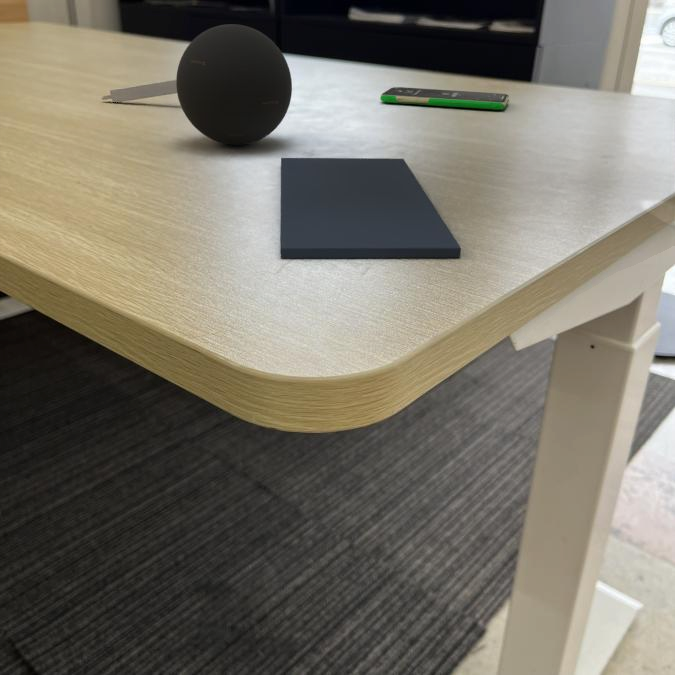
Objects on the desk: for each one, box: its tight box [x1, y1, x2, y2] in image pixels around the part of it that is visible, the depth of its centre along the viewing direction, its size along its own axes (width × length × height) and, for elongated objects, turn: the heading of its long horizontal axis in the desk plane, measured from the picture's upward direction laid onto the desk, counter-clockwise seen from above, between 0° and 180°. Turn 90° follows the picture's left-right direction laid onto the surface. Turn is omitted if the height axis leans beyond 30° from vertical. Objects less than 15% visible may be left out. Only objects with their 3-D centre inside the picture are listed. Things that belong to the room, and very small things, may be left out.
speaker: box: [175, 23, 293, 146], centre depth 65 cm, size 10×10×10 cm
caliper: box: [101, 79, 177, 104], centre depth 84 cm, size 20×1×6 cm, turn 76°
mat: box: [279, 157, 462, 259], centre depth 51 cm, size 10×22×1 cm, turn 4°
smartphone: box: [379, 86, 510, 111], centre depth 91 cm, size 8×1×15 cm
